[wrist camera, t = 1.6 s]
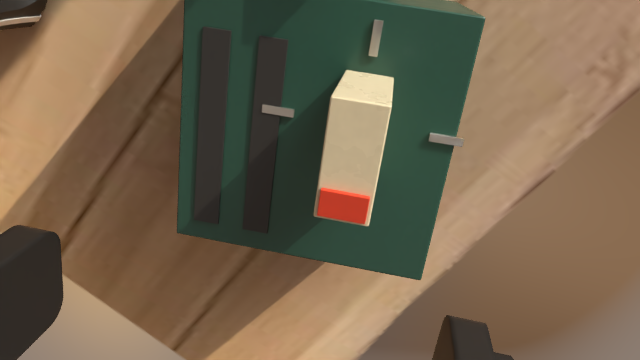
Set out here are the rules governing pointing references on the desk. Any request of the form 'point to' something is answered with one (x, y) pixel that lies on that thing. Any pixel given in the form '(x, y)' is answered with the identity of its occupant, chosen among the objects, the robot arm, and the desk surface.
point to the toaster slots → (262, 128)
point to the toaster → (311, 118)
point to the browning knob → (353, 147)
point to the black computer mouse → (20, 13)
